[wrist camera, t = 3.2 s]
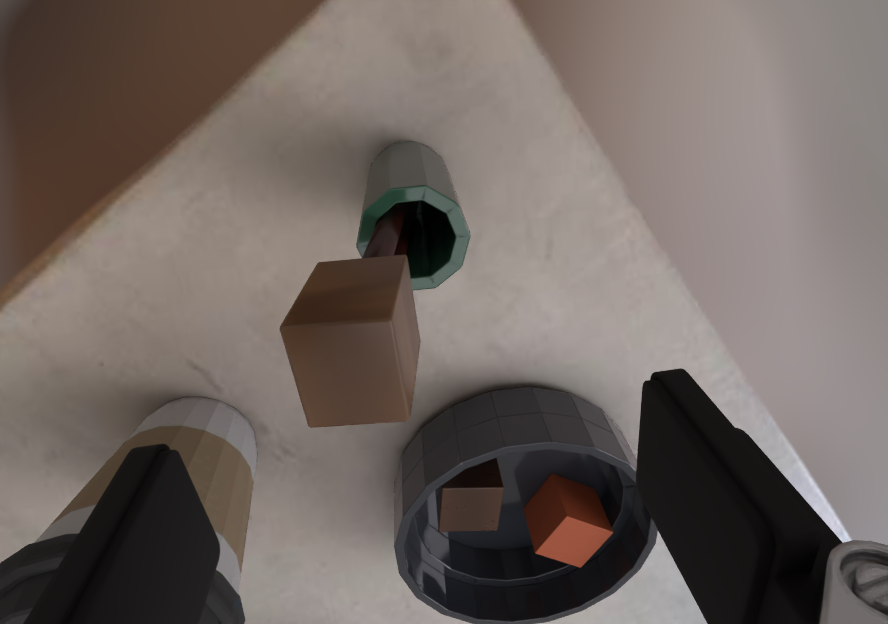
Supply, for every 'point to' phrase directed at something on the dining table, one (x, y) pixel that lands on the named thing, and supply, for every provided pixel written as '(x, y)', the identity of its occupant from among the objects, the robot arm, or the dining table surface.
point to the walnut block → (471, 499)
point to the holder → (418, 210)
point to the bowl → (517, 508)
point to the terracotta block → (566, 521)
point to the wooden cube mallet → (358, 332)
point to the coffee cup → (214, 477)
